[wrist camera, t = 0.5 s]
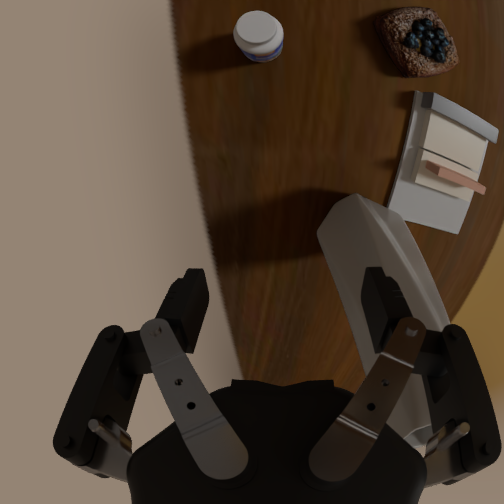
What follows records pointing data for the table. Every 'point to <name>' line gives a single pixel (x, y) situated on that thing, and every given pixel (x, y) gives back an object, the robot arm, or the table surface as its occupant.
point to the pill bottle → (259, 36)
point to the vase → (393, 264)
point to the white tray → (447, 146)
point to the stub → (445, 175)
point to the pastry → (417, 41)
